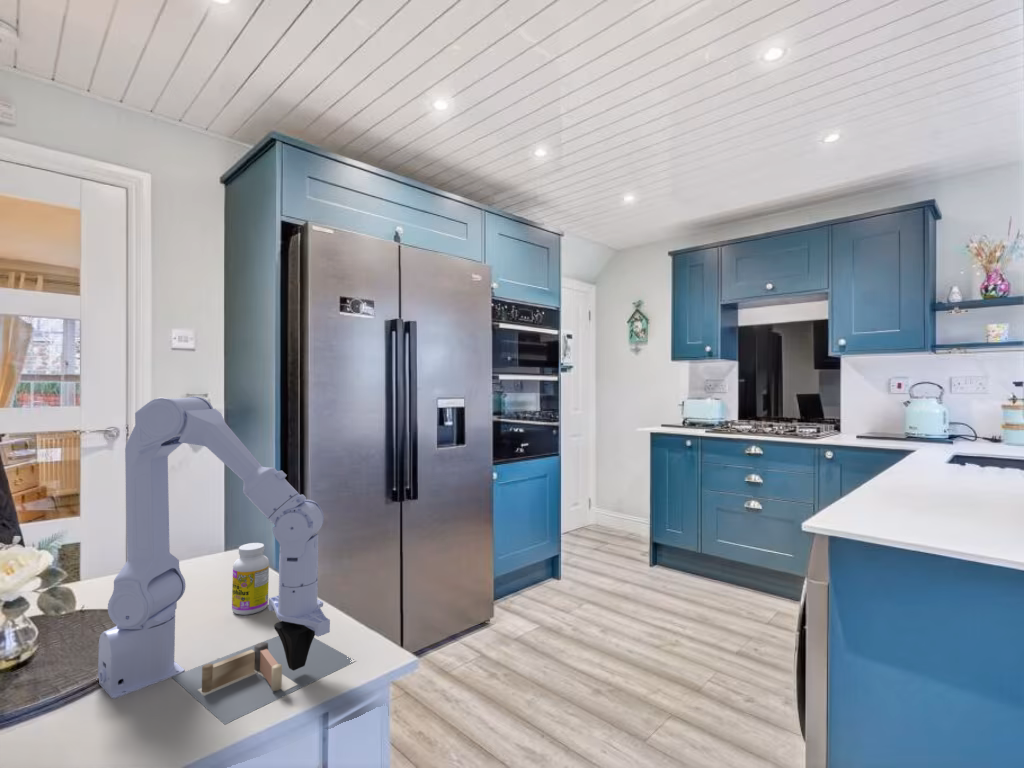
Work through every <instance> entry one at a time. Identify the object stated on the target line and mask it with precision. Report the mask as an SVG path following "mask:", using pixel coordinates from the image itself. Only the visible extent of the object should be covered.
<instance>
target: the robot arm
mask: <svg viewBox="0 0 1024 768" xmlns="http://www.w3.org/2000/svg"><path fill="white" fill-rule="evenodd" d="M134 419H135V420H134V421H135V423H134V424H135V425H134V427H133V429H132V431H131V433H130V435H129V437H128V440H127V442H126V444H125V448H124V450H125V451H124V452H125V454H124V455H125V456H124V457H125V458H124V459H125V460H124V461H125V501H126V502H125V503H126V507H125V508H126V512H125V513H126V554H127V560H126V562H125V564H124V565H123V567H122V568H121V569H120V571H119V572H118V574H117V575H116V576H115V578H114V580H113V591H112V594H111V596H110V598H109V600H108V603H107V612H108V616H109V619H110V620H111V621H112V623H113V624H114V625H115V626H114V627H112V628H110V629H107V630H104V631H102V632H101V633H100V636H99V640H98V654H97V655H98V657H97V658H98V659H97V660H98V661H97V662H98V664H97V667H98V668H97V678H99V683H98V684H99V685H100V686H101V688H102V689H103V691H105V693H106V694H108V696H109V697H110V698H111V699H119V698H120V697H123V696H126V695H129V694H131V693H133V692H136V691H140V690H141V689H144V688H147V687H149V686H152V685H154V684H157V683H160V682H163V681H165V680H168V679H170V678H172V676H175V675H177V674H180V673H183V672H185V671H186V670H185V668H183V666H181V665H180V664H178V663H177V662H176V661H175V651H176V650H175V646H176V643H175V642H176V639H175V638H176V610H177V607H178V606H177V605H178V604H177V603H178V601H179V600H180V599H181V598H182V597H183V596H184V593H185V591H186V580H185V577H184V576H183V574H182V572H181V569H180V560H179V559H178V557H176V556H175V555H173V554H172V553H171V552H170V550H171V549H170V547H171V546H170V518H169V517H170V505H169V499H170V498H169V455H171V454H172V453H173V452H175V450H177V449H178V448H179V447H180V446H181V445H183V444H189V445H196V446H202V447H206V448H207V449H208V450H209V451H210V452H211V453H212V454H213V455H215V457H216V458H218V459H219V460H220V461H221V462H222V463H223V464H224V465H225V466H227V468H229V469H230V470H231V471H232V472H233V473H234V474H235V475H236V476H238V478H239V479H240V480H242V483H243V485H242V486H243V487H242V488H243V489H242V493H243V494H244V496H245V497H246V498H247V499H248V500H249V501H250V502H251V503H252V504H253V505H254V507H256V509H258V510H259V511H260V513H262V514H263V515H264V516H265V518H266V519H267V520H268V521H269V522H270V523H271V524H272V525H274V526H273V527H272V533H273V536H274V538H275V540H276V541H277V543H278V544H279V556H278V557H279V561H278V562H279V563H278V594H277V595H275V596H272V597H268V610H269V611H271V612H274V613H275V615H276V618H277V619H278V620H279V621H278V622H276V623H275V624H274V626H273V627H274V630H275V631H276V634H277V636H279V637H280V639H281V641H282V644H283V647H284V651H285V655H286V659H287V663H288V667H289V668H290V669H291V670H293V671H294V670H296V669H299V668H301V667H303V666H305V663H306V660H307V656H308V652H309V649H310V646H311V643H312V640H313V638H315V637H318V638H319V637H321V636H324V635H327V634H329V633H330V632H331V631H330V630H331V620H330V618H328V617H327V616H326V615H325V613H324V612H323V611H322V609H321V608H323V607H324V601H322V600H321V599H318V593H319V592H318V591H319V589H318V587H319V586H318V585H319V534H318V532H319V531H320V529H322V526H323V524H324V521H325V520H324V519H325V515H324V511H323V510H322V507H320V505H319V503H318V502H316V501H315V500H312V499H307V497H306V496H305V495H304V494H302V493H301V494H300V493H299V492H298V491H297V490H296V489H295V488H294V487H293V485H291V484H290V483H289V482H288V480H287V479H286V477H287V475H288V474H286V473H285V472H284V471H283V470H277V469H276V468H275V467H268V466H266V467H265V466H262V464H260V462H259V460H257V459H256V457H255V456H254V455H253V454H252V453H251V451H250V450H249V449H248V447H246V445H245V444H244V443H243V442H242V441H241V439H239V437H238V436H237V435H236V433H235V432H234V431H233V430H232V429H231V428H230V427H229V426H228V424H227V422H226V421H225V418H224V416H223V414H222V413H221V412H220V411H219V410H218V409H216V408H214V407H213V405H212V404H211V402H210V401H208V399H206V398H203V397H201V396H189V397H178V398H177V397H176V398H175V397H174V398H173V397H172V398H170V397H169V398H168V397H157V398H154V399H152V400H150V401H149V402H147V403H146V404H145V405H143V406H142V407H141V408H139V409H138V410H136V412H135V413H134Z"/></svg>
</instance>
